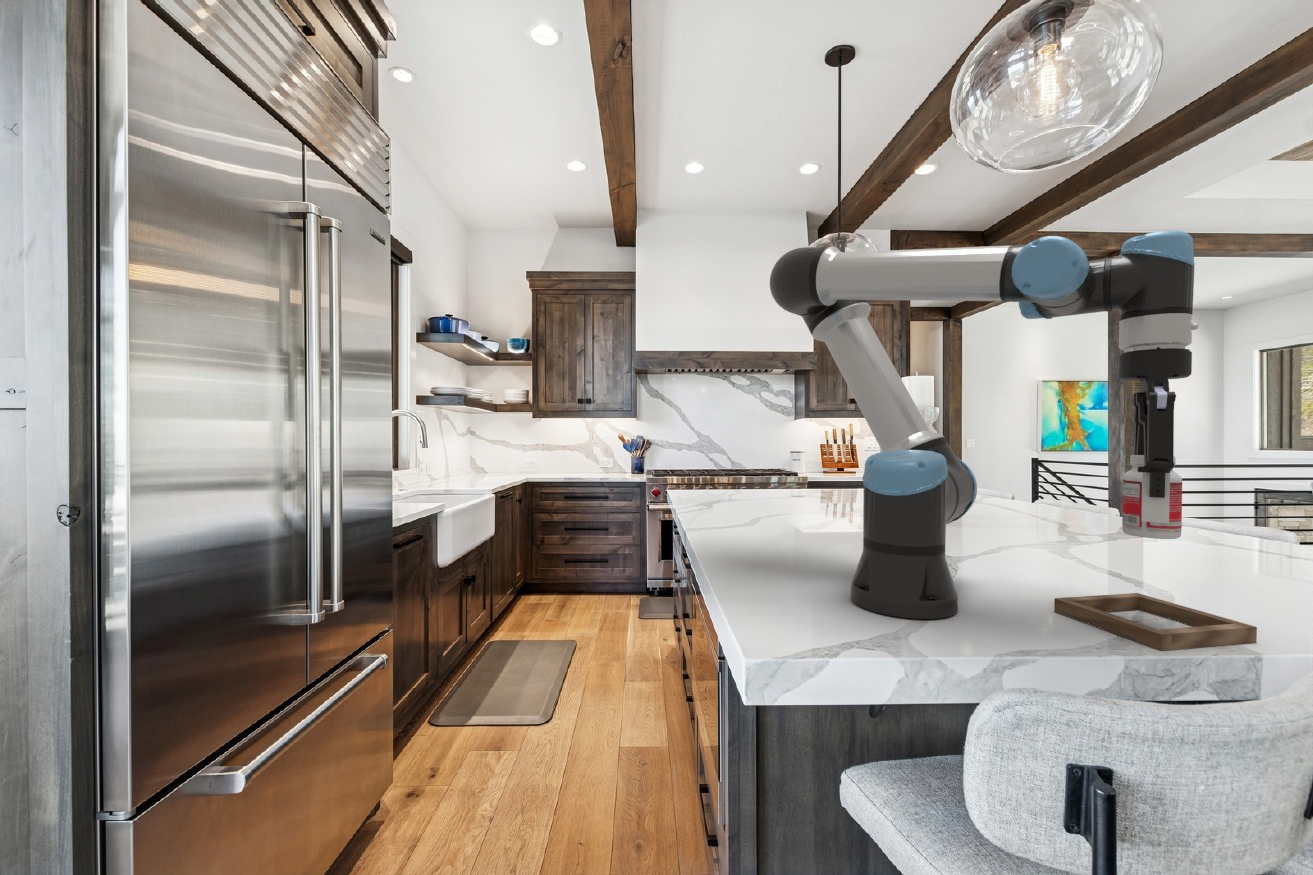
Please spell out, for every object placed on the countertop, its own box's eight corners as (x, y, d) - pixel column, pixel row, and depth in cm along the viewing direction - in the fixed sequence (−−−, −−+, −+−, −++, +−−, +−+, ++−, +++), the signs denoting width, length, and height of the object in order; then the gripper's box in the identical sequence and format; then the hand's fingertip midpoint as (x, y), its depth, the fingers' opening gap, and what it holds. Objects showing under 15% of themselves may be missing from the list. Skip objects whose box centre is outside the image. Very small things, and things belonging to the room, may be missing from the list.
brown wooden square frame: (1161, 650, 70) (1161, 634, 70) (1054, 611, 85) (1054, 598, 85) (1256, 642, 73) (1256, 627, 73) (1137, 605, 88) (1137, 593, 88)
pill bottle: (1187, 537, 78) (1189, 455, 77) (1172, 542, 74) (1174, 457, 74) (1131, 530, 83) (1132, 453, 83) (1114, 534, 79) (1116, 455, 79)
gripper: (1209, 338, 68) (1204, 532, 68) (1177, 355, 84) (1173, 512, 84) (1128, 343, 72) (1124, 525, 73) (1112, 358, 88) (1109, 508, 89)
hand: (1150, 518), depth 79 cm, fingers closed on pill bottle, 6 cm apart
